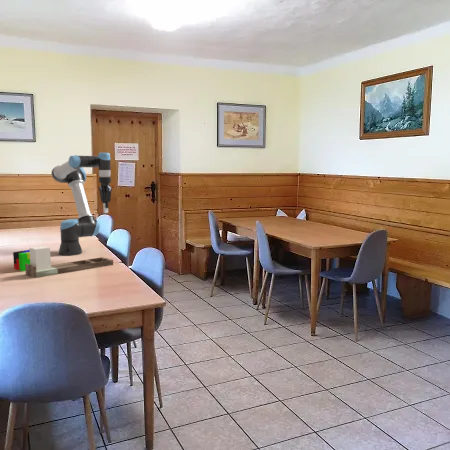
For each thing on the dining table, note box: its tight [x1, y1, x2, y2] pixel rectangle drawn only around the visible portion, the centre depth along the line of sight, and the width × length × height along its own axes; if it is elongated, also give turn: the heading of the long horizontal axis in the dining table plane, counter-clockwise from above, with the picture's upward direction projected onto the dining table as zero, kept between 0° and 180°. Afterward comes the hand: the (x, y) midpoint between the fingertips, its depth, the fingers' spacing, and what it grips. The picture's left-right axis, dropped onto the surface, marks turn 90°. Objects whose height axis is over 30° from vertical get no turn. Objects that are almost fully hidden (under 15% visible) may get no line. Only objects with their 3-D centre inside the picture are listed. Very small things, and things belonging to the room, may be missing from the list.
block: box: [29, 245, 52, 271], centre depth 253 cm, size 8×8×12 cm
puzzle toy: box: [12, 249, 30, 272], centre depth 267 cm, size 10×10×10 cm
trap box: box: [25, 256, 114, 279], centre depth 266 cm, size 12×48×6 cm, turn 135°
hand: (105, 212), depth 299 cm, fingers closed
